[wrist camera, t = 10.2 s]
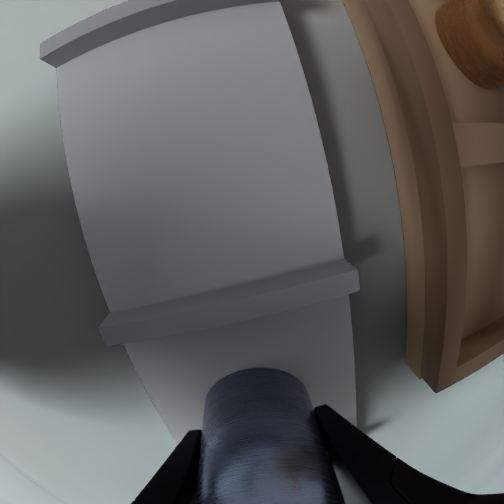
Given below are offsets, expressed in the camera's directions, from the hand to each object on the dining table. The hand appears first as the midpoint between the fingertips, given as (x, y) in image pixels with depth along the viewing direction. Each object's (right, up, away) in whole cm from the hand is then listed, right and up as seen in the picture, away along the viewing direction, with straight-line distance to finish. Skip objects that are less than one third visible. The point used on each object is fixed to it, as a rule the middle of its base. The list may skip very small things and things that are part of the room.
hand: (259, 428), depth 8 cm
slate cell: (0, 0, +1) cm, 1 cm away
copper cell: (+8, +13, -2) cm, 15 cm away
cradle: (-1, +4, +1) cm, 5 cm away
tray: (+9, +10, 0) cm, 13 cm away
